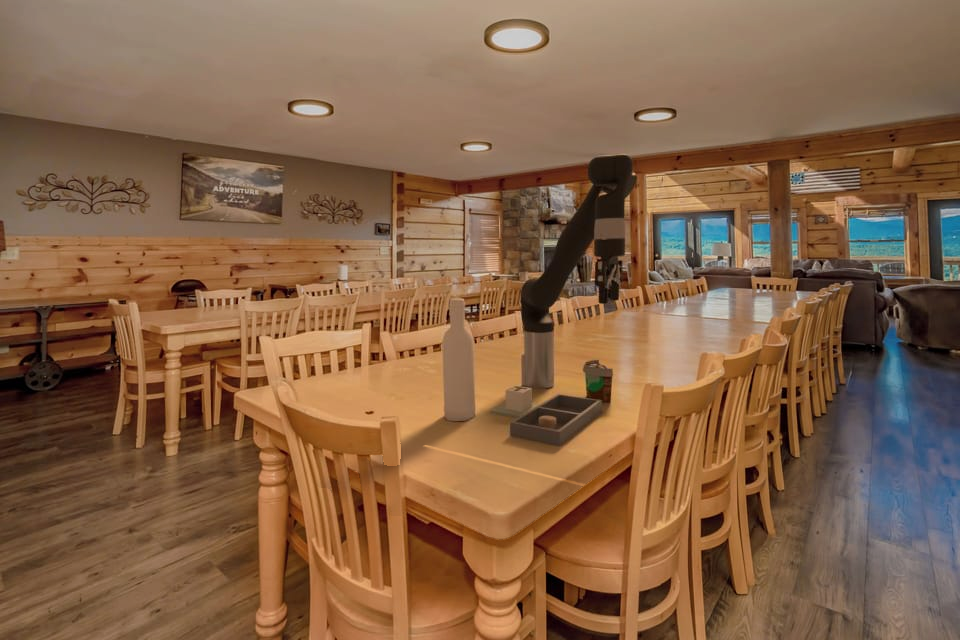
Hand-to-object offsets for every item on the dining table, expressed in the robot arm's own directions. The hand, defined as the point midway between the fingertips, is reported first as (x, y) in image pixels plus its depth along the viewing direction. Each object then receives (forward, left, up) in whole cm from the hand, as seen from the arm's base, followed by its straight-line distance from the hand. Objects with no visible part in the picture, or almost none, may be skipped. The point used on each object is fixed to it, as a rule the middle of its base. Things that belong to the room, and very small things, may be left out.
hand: (609, 301), depth 125 cm
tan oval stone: (-6, -24, -28) cm, 37 cm away
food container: (-6, +6, -28) cm, 30 cm away
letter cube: (-19, -14, -27) cm, 36 cm away
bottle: (-30, -25, -28) cm, 48 cm away
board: (-19, -14, -28) cm, 37 cm away
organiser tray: (-6, -18, -28) cm, 34 cm away
